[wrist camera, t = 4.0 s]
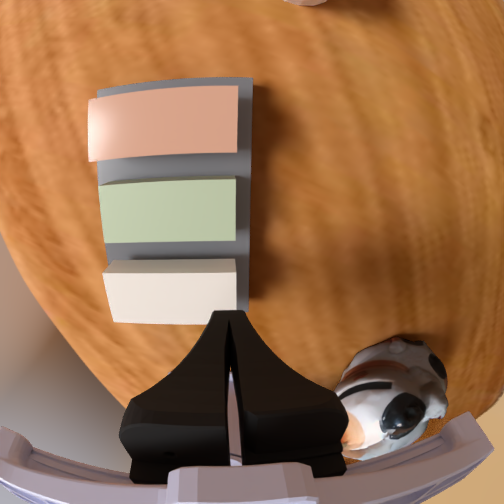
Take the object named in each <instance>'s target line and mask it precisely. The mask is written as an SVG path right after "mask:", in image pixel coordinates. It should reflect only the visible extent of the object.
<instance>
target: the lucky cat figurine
mask: <svg viewBox="0 0 504 504" xmlns="http://www.w3.org/2000/svg"><path fill="white" fill-rule="evenodd" d="M446 389H447V374H446V369H445V367H444V365H443V363H442V362H441V361H440V359H439V358H438V357H437V356H436V355H435V354H434V353H433V352H432V350H431V349H430V348H429V347H428V346H427V345H426V343H425V342H424V341H415V342H412V341H409V340H406V339H402V338H400V337H398V336H397V337H394V338H391V339H389V340H387V341H384V342H382V343H379V344H377V345H374V346H371V347H369V348H366V349H364V350H362V351H360V352H358V353H357V354H356V355H355V357H354V359H353V360H352V362H351V364H350V365H349V367H348V368H347V369H345V370H344V372H343V374H342V377H341V380H340V383H339V384H338V385H337V387H336V388H335V390H334V392H335V393H336V394H337V396H338V397H339V399H340V401H341V402H342V404H343V406H344V407H345V409H346V412H347V414H348V417H349V424H348V427H347V429H346V431H345V433H344V435H343V437H342V439H341V443H342V446H343V452H341V453H342V455H343V456H345V457H348V458H353V459H358V460H362V461H364V460H367V459H371V458H374V457H377V456H381V455H384V454H387V453H390V452H393V451H396V450H398V449H401V448H404V447H407V446H409V445H411V444H412V443H413V442H414V441H416V440H417V439H418V438H419V437H420V436H421V435H422V434H423V433H424V432H425V430H426V429H427V425H428V422H429V419H433V418H438V419H442V418H443V417H444V416H445V414H446V409H447V407H448V400H447V398H446V395H445V392H446Z"/></svg>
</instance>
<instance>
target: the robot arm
mask: <svg viewBox="0 0 504 504" xmlns="http://www.w3.org/2000/svg"><path fill="white" fill-rule="evenodd" d="M230 366H231V372H230ZM348 424H349V417H348V414H347V412H346V409H345V407H344V406H343V404H342V402H341V401H340V399H339V397H338V396H337V394H336V393H335V392H333V391H331V390H329V389H326V388H324V387H322V386H320V385H317V384H315V383H314V382H312V381H310V380H308V379H307V378H305V377H303V376H302V375H300V374H299V373H297V372H296V371H294V370H293V369H292V368H290V367H289V366H288V365H286V364H285V363H284V362H283V361H282V360H281V359H280V358H279V357H277V356H276V355H275V354H274V353H273V352H272V350H271V349H270V348H269V347H268V346H267V345H266V344H265V343H264V341H263V340H262V339H261V337H260V336H259V335H258V333H257V332H256V331H255V329H254V328H253V326H252V325H251V323H250V321H249V319H248V318H247V316H246V313H245V312H244V311H243V310H214V311H213V312H212V314H211V317H210V320H209V322H208V324H207V326H206V328H205V330H204V331H203V333H202V335H201V336H200V338H199V340H198V341H197V342H196V344H195V345H194V347H193V348H192V350H191V351H190V352H189V353H188V355H187V356H186V357H185V358H184V359H183V360H182V362H181V363H180V364H179V365H178V366H177V367H176V368H175V369H174V370H173V371H172V372H169V373H168V375H167V376H166V377H165V378H163V379H162V380H161V381H159V382H158V383H157V384H155V385H154V386H153V387H151V388H150V389H148V390H146V391H145V392H143V393H141V394H139V395H138V396H136V397H134V398H132V399H131V400H130V402H129V404H128V406H127V409H126V411H125V413H124V416H123V419H122V423H121V427H120V431H119V438H120V441H121V442H122V444H123V446H124V447H125V449H126V451H127V452H128V453H129V455H130V457H131V458H132V464H131V470H130V473H124V472H119V471H113V470H109V469H104V468H99V467H95V466H91V465H87V464H84V463H80V462H76V461H73V460H70V459H66V458H63V457H60V456H57V455H54V454H51V453H48V452H45V451H42V450H40V449H37V448H35V447H32V445H31V444H30V442H29V441H28V440H27V439H26V438H25V437H24V436H22V435H21V434H19V433H17V432H14V431H12V430H10V429H7V428H5V427H1V429H0V484H1V485H2V486H4V487H5V488H6V489H7V490H9V491H10V492H11V493H13V494H14V495H15V496H17V497H18V498H20V499H22V500H24V501H26V502H28V503H30V504H420V503H422V502H424V501H426V500H428V499H429V498H431V497H433V496H435V495H437V494H439V493H440V492H442V491H444V490H445V489H447V488H449V487H451V486H452V485H454V484H456V483H457V482H459V481H460V480H462V479H463V478H465V477H466V476H467V475H468V474H469V473H471V472H472V471H473V470H474V469H475V468H476V467H477V466H478V465H479V464H480V463H482V462H483V461H484V460H485V459H486V458H487V457H488V456H489V455H490V454H491V453H492V452H493V451H494V447H493V446H492V444H491V442H490V441H489V440H488V438H487V436H486V435H485V433H484V432H483V430H482V429H481V428H480V426H479V425H478V423H477V422H476V420H475V419H474V417H473V416H472V415H471V413H470V412H469V411H467V412H465V413H463V414H461V415H459V416H457V417H455V418H453V419H452V420H450V421H449V422H448V423H446V424H445V425H444V427H443V428H442V429H441V431H440V433H438V434H436V435H434V436H431V437H429V438H427V439H424V440H422V441H419V442H417V443H414V444H412V445H409V446H407V447H404V448H401V449H398V450H396V451H393V452H390V453H387V454H384V455H381V456H377V457H374V458H371V459H367V460H364V461H360V462H357V463H353V464H349V465H346V464H345V461H344V458H343V455H342V453H341V452H343V446H342V443H341V439H342V437H343V435H344V433H345V431H346V429H347V427H348Z"/></svg>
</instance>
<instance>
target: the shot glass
mask: <svg viewBox="0 0 504 504" xmlns="http://www.w3.org/2000/svg"><path fill="white" fill-rule="evenodd" d="M284 1H285V2H289V3H293V4H296V5H300V6H315V5H318V4H321V3H324V2H326V1H327V0H284Z"/></svg>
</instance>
